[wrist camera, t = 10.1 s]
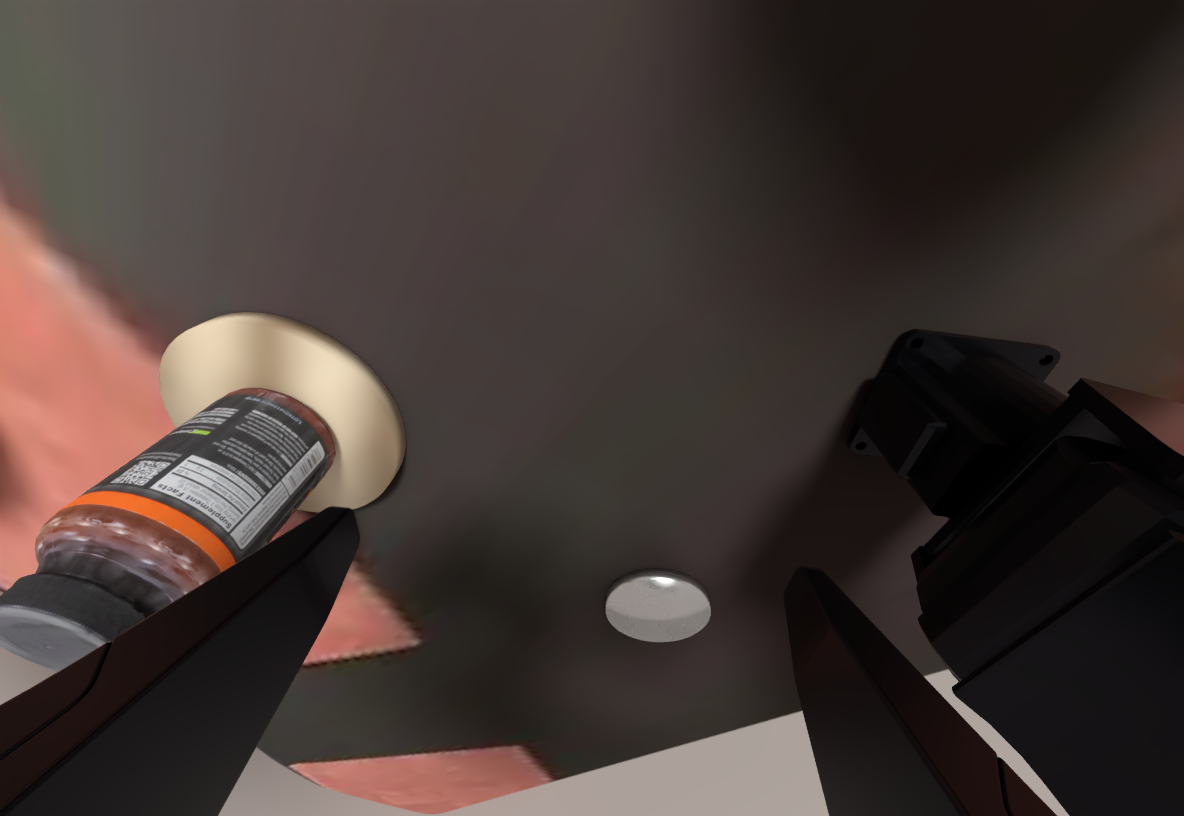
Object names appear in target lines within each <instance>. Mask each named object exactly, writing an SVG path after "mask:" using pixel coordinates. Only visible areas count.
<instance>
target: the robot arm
mask: <svg viewBox="0 0 1184 816" xmlns="http://www.w3.org/2000/svg"><path fill="white" fill-rule="evenodd" d="M917 338H919V339H918V341H917V342H916V343H915V344H914V345H910V344H911V342H912V341H913V340H915V339H917ZM1044 356H1045V358H1043V359H1042V360H1040V359H1041V358H1042V357H1044ZM1059 359H1060V353H1059V352H1058V351H1057V350H1055V349H1053V348H1051V347H1049V346H1046V345H1038V344H1030V343H1022V342H1014V341H1006V340H999V339H991V338H983V337H975V336H967V335H959V334H951V333H944V332H936V331H928V330H920V329H913V330H910V331H908V332H906V333H905V334H903V336H902V337H901V338H900V340H899V342H898V344H897V346H896V348H895V350H894V352H893V354H892V356H891V358H890V360H889V361H888V363H887V365H886V367H885V369H884V371H883V373H882V374H881V375H880V376H879V378H878V379H877V381H876V383H875V385H874V387H873V389H872V391H871V393H870V395H869V397H868V399H867V401H866V403H865V405H864V406H863V408H862V410H861V412H860V414H859V416H858V418H857V423H856V425H855V427H854V429H853V431H852V433H851V434H850V436H849V438H848V441H847V445H848V447H849V449H850V450H851V451H852V452H853V453H855V454H861V455H869V456H877V457H884V458H885V459H886V460H887V462H888V463H889V464H890V466H891V467H892V468H893V470H894V471H895V472H896V474H897V475H898V476H899V477H900V478H903V479H906V480H907V481H908V482H909V484H910V485H911V486H912V488H913V489H914V490H915V491H916V493H917V494H918V495H919V497H920V498H921V499H922V501H923V502H924V503H925V505H926V506H927V507H928V508H929V510H930V511H931V512H932V514H934V515H937V516H944V517H948V519H949V520H948V521H947V522H946V523H945V524H944V526H943V527H942V528H941V529H940V530H939V531H938V532H937V533H936V534H935V535H934V536H933V537H932V538H931V539H930V540H929V541H928V542H927V543H926V544H925V545H924V546H919V547H918V548H917V549H916V550H915V551H914V552H913V553H912V554H911V559H912V563H913V567H914V571H915V575H916V579H917V583H918V584H917V587H916V588H917V593H918V597H919V601H920V606H921V610H922V612H923V613H922V614H921V615H920V616H919V618H918V621H919V624H920V627H921V629H922V631H923V632H924V634H925V636H926V637H927V639H928V641H929V642H930V644H931V646H932V648H933V649H934V650H935V652H936V653H937V654H938V656H939V657H940V658H941V660H942V661H943V663H944V664H945V665H946V667H947V668H948V669H949V670H950V672H951V673H952V674H953V676H954V677H955V678H956V679H957V680H958V681H959V682H958V683H957V684H956V685H954V686H953V687H952V691H953V693H954V694H955V696H956V697H957V698H959V699H960V700H961V701H962V702H964V703H965V704H966V705H967V706H968V707H969V708H971V709H972V710H973V711H974V712H976V713H977V714H978V715H979V716H980V717H982V718H983V719H984V720H985V721H987V722H988V723H989V724H990V725H991V726H992V727H993V728H994V729H995V730H996V731H997V732H998V733H999V734H1000V735H1001V736H1002V737H1003V738H1004V739H1005V740H1006V741H1007V742H1008V743H1009V744H1010V745H1011V746H1012V747H1013V748H1014V749H1015V750H1016V751H1017V752H1018V753H1019V754H1020V755H1021V756H1022V757H1023V758H1024V760H1025V761H1026V762H1027V763H1028V764H1029V765H1030V767H1031V768H1032V769H1033V770H1034V772H1035V773H1036V774H1037V775H1038V776H1039V778H1040V779H1041V780H1042V781H1043V782H1044V784H1045V785H1046V786H1047V787H1048V789H1049V790H1050V791H1051V793H1052V794H1053V795H1054V796H1055V798H1056V799H1057V800H1058V801H1059V803H1060V804H1061V805H1062V807H1063V808H1064V809H1065V810H1066V812H1067V813H1068V814H1069V816H1184V404H1181V403H1177V402H1173V401H1170V400H1166V399H1162V398H1158V397H1154V396H1150V395H1146V394H1143V393H1139V392H1135V391H1131V390H1127V389H1123V388H1119V387H1116V386H1112V385H1108V384H1104V383H1100V382H1096V381H1092V380H1089V379H1085V378H1081V379H1080V380H1079V381H1078V382H1077V383H1076V384H1075V385H1074V386H1073V387H1072V388H1071V389H1070V390H1069V391H1068V394H1070V395H1069V397H1067V396H1065V395H1064V394H1062V393H1060V392H1059V391H1057V390H1056V389H1054V388H1052V387H1051V386H1049V385H1048V384H1046V383H1045V382H1043V381H1044V380H1045V379H1046V377H1047V376H1048V375H1049V373H1050V372H1051V371H1052V369H1053V368H1054V367H1055V365H1056V364H1057V363H1058V361H1059ZM859 442H862V443H861V444H859V445H857V444H858V443H859ZM359 542H360V533H359V530H358V526H357V522H356V518H355V514H354V511H353V510H352V509H351V508H347V507H340V506H330V507H327V508H325V509H324V510H322V511H320V512H319V513H317V514H316V515H314V516H312V517H311V518H309V519H307V520H306V521H304V522H303V523H301V524H299V525H298V526H296V527H294V528H293V529H291V530H289V531H288V532H286V533H285V534H283V535H281V536H280V537H278V538H276V539H275V540H273V541H272V542H270V543H268V544H267V545H265V546H263V547H262V548H260V549H258V550H257V551H255V552H254V553H252V554H250V555H249V556H247V557H245V558H244V559H242V560H241V561H239V562H237V563H236V564H234V565H232V566H231V567H229V568H227V569H226V570H224V571H223V572H221V573H219V574H218V575H216V576H214V577H213V578H211V579H210V580H208V581H206V582H205V583H203V584H201V585H200V586H198V587H196V588H195V589H193V590H192V591H190V592H188V593H187V594H185V595H183V596H182V597H180V598H179V599H177V600H175V601H174V602H172V603H170V604H169V605H167V606H166V607H164V608H162V609H161V610H159V611H157V612H156V613H154V614H152V615H151V616H149V617H148V618H146V619H144V620H143V621H141V622H139V623H138V624H136V625H135V626H133V627H131V628H130V629H128V630H126V631H125V632H123V633H121V634H120V635H118V636H117V637H115V638H114V640H113V642H112V641H109V642H107V643H105V644H103V645H102V646H100V647H98V648H97V649H95V650H93V651H92V652H90V653H89V654H87V655H85V656H84V657H82V658H80V659H79V660H77V661H75V662H74V663H72V664H70V665H69V666H67V667H65V668H64V669H62V670H60V671H59V672H57V673H55V674H54V675H52V676H50V677H48V678H47V679H45V680H43V681H42V682H40V683H38V684H37V685H35V686H33V687H32V688H30V689H28V690H27V691H25V692H23V693H21V694H19V695H18V696H16V697H14V698H12V699H10V700H9V701H7V702H5V703H3V704H2V705H0V816H218V815H219V813H220V811H221V809H222V807H223V806H224V804H225V802H226V800H227V798H228V797H229V795H230V793H231V791H232V790H233V788H234V786H235V784H236V782H237V780H238V779H239V777H240V775H241V773H242V771H243V770H244V768H245V766H246V764H247V763H248V761H249V759H250V757H251V755H252V753H253V752H254V750H255V748H256V746H257V745H258V743H259V741H260V739H261V737H262V736H263V734H264V732H265V730H266V728H267V727H268V725H269V723H270V721H271V719H272V718H273V716H274V714H275V712H276V710H277V709H278V707H279V705H280V703H281V701H282V700H283V698H284V696H285V694H286V692H287V691H288V689H289V687H290V685H291V683H292V682H293V680H294V678H295V676H296V674H297V673H298V671H299V669H300V667H301V665H302V664H303V662H304V660H305V658H306V656H307V655H308V653H309V651H310V649H311V647H312V646H313V644H314V642H315V640H316V639H317V637H318V635H319V633H320V631H321V629H322V627H323V626H324V624H325V622H326V620H327V618H328V616H329V613H330V611H331V609H332V607H333V605H334V602H335V600H336V598H337V595H338V593H339V591H340V588H341V586H342V584H343V581H344V579H345V577H346V574H347V572H348V570H349V567H350V565H351V563H352V560H353V558H354V556H355V553H356V551H357V549H358V546H359ZM783 603H784V610H785V617H786V624H787V631H788V637H789V644H790V651H791V658H792V665H793V671H794V676H795V682H796V686H797V690H798V695H799V699H800V703H801V707H802V710H803V714H804V718H805V722H806V726H807V730H808V734H809V738H810V742H811V746H812V750H813V754H814V758H815V762H816V765H817V769H818V773H819V777H820V781H821V785H822V789H823V793H824V797H825V800H826V805H827V809H828V813H829V816H1057V815H1056V814H1055V813H1054V812H1053V811H1052V810H1051V809H1050V808H1049V807H1048V806H1047V805H1046V804H1045V803H1044V802H1043V801H1042V800H1041V799H1040V798H1039V797H1038V796H1037V795H1036V794H1035V793H1034V792H1033V791H1032V790H1031V789H1030V788H1029V787H1028V785H1027V784H1025V782H1023V780H1022V779H1021V778H1020V777H1019V776H1018V775H1017V774H1016V773H1015V772H1014V771H1013V770H1012V769H1011V768H1010V767H1009V766H1008V765H1007V764H1006V763H1005V761H1004V760H1002V759H1001V758H999V757H997V754H996V752H995V751H994V750H993V749H992V748H991V747H990V746H989V745H988V744H987V743H986V742H985V741H984V740H983V739H982V738H981V737H980V736H979V734H978V733H977V732H976V731H975V730H974V729H973V728H972V727H971V726H970V725H969V724H968V723H967V722H966V721H965V720H964V719H963V718H962V716H960V714H959V713H958V712H957V711H956V710H955V709H954V708H953V707H952V706H951V705H950V704H949V703H948V702H947V701H946V700H945V699H944V698H943V697H942V695H941V694H940V693H939V692H938V691H937V690H936V689H935V688H934V687H933V686H932V685H931V684H930V683H929V682H928V681H927V680H926V679H925V678H924V677H923V676H922V674H921V673H920V672H919V671H918V670H917V669H916V668H915V667H914V666H913V665H912V664H911V663H910V662H909V661H908V660H907V659H906V658H905V657H904V656H903V655H902V653H901V652H900V651H899V650H898V649H897V648H896V647H895V646H894V645H893V644H892V643H891V642H890V641H889V640H888V639H887V638H886V637H885V636H884V635H883V634H882V632H881V631H880V630H879V629H878V628H877V627H876V626H875V625H874V624H873V623H872V622H871V621H870V620H869V619H868V618H867V617H866V616H865V615H864V614H863V613H862V611H861V610H860V609H859V608H858V607H857V606H856V605H855V604H854V603H853V602H852V601H851V600H850V599H849V598H848V597H847V596H846V595H845V594H844V593H843V591H842V590H841V589H840V588H839V587H838V586H837V585H836V584H835V583H834V582H833V581H832V580H831V579H830V578H829V577H828V576H827V575H826V574H825V573H824V572H823V571H822V570H821V569H818V568H813V567H806V566H800V567H798V568H797V569H796V570H795V572H794V574H793V575H792V577H791V579H790V581H789V583H788V585H787V586H786V588H785V591H784V595H783Z"/></svg>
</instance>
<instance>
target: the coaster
mask: <svg viewBox="0 0 1184 816" xmlns="http://www.w3.org/2000/svg"><path fill="white" fill-rule="evenodd" d="M159 387H160V393H161V397H162V400H163V404H164V406H165V408H166V411H167V413H168V416H169V417H170V419H171V421H172V423H173V424H174V426H175V428H178V427H180V426H181V425H182V424H184V423H185V422H186V421H188V420H190V419H191V418H192V417H194V416H195V415H196V414H198V413H199V412H201V411H202V410H204V409H205V408H207V407H208V406H210V405H211V404H212V403H214V402H215V401H217V400H218V399H221V398H222V397H224V396H225V395H227V394H228V393H230V392H233V391H236V390H239V389H243V388H265V389H271V390H274V391H278V392H281V393H284V394H286V395H290V396H292V397H293V398H294V399H297V400H298V401H300V402H301V403H303V404H304V405H306V406H308V407H309V408H310V409H311V410H312V411H314V413H315V414H317V415H318V416H319V417H320V418H321V419H322V421H323V422H324V423H325V424H326V425H327V428H328V429H329V431H330V433H331V435H332V438H333V441H334V444H335V451H336V455H335V458H334V461H333V464H332V466H331V467H330V469H329V470H328V472H327V473H326V474H325V476H324V477H323V479H322V480H321V481H320V482H319V483H318V485H317V486H316V487H315V488H314V490H313V491H312V492H311V493H310V494H309V495H308V496H307V497H306V499H305V500H304V501H303V502H302V504H301V505H300V506H299V507H298V509H297V510H303V511H309V512H320V511H322V510H324V509H325V508H327V507H330V506H340V507H347V508H351V509H356V508H359V507H361V506H364V505H366V504H368V503H370V502H371V501H373V500H375V499H376V498H377V497H378V496H380V495H381V494H382V493H383V492H384V490H385V489H386V488H387V487H388V485H389V484H390V482H391V481H392V479H393V478H394V476H395V475H396V473H397V472H398V470H399V468H400V466H401V464H402V462H403V459H404V455H405V449H406V434H405V428H404V424H403V419H402V417H401V414H400V411H399V409H398V406H397V405H396V403H395V401H394V399H393V397H392V395H391V394H390V392H389V391H388V389H387V388H386V386H385V385H384V383H383V382H382V381H381V380H380V378H379V377H378V376H377V375H376V374H375V373H374V371H373V370H372V369H371V368H370V367H369V366H368V365H367V364H366V363H365V362H364V361H363V360H362V359H361V358H359V357H358V356H357V355H356V354H354V353H353V352H352V351H351V350H349V349H348V348H347V347H346V346H344V345H343V344H341V343H340V342H338V341H336V340H335V339H333V338H332V337H330V336H328V335H327V334H325V333H323V332H321V331H319V330H317V329H315V328H313V327H311V326H308V325H306V324H304V323H301V322H299V321H296V320H292V319H289V318H286V317H282V316H278V315H273V314H268V313H259V312H237V313H230V314H225V315H221V316H218V317H215V318H213V319H211V320H208V321H206V322H204V323H202V324H200V325H197V326H195V327H193V328H191V329H189V330H187V331H185V332H184V333H182V334H181V335H179V336H178V337H176V339H175V340H174V341H173V342H172V343H171V344H170V345H169V346H168V348H167V350H166V351H165V353H164V355H163V357H162V360H161V364H160V368H159Z"/></svg>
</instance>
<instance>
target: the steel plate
mask: <svg viewBox="0 0 1184 816" xmlns="http://www.w3.org/2000/svg"><path fill="white" fill-rule="evenodd" d="M605 610H606V616H607V618H608V620H609V622H610V623H611V624H612V625H613V626H614V627H615V628H616V629H617V630H618V631H620V632H622V633H623V634H625V635H627V636H630V637H632V638H635V639H639V640H643V641H650V642H670V641H676V640H681V639H684V638H687V637H690V636H692V635H694V634H696V633H697V632H699V631H700V630H701V629H702V628H704V627H705V625H706V624H707V623H708V621H709V619H710V615H711V609H710V603H709V597H708V594H707V591H706V590H705V588H704V587H703V586H702V585H701V584H700V583H699V582H698V581H697V580H695V579H694V578H692V577H690V576H688V575H686V574H683V573H681V572H677V571H673V570H667V569H645V570H639V571H635V572H632V573H629V574H627V575H625V576H623V577H621V578H619V579H618V580H616V581H615V582H614V583H613V584H612V585H611V587H610V588H609V590H608V592H607V595H606V609H605Z"/></svg>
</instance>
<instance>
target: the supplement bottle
mask: <svg viewBox="0 0 1184 816" xmlns="http://www.w3.org/2000/svg"><path fill="white" fill-rule="evenodd" d="M335 455H336V451H335V444H334V441H333V438H332V435H331V433H330V431H329V429H328V428H327V425H326V424H325V423H324V422H323V421H322V419H321V418H320V417H319V416H318V415H317V414H315V413H314V411H312V410H311V409H310V408H309V407H308V406H306V405H304V404H303V403H301V402H300V401H298V400H297V399H294V398H293V397H292V396H290V395H286V394H284V393H281V392H278V391H274V390H271V389H265V388H243V389H239V390H236V391H233V392H230V393H228V394H227V395H225V396H224V397H222V398H221V399H218V400H217V401H215V402H214V403H212V404H211V405H210V406H208V407H207V408H205V409H204V410H202V411H201V412H199V413H198V414H196V415H195V416H194V417H192V418H191V419H190V420H188V421H186V422H185V423H184V424H182V425H181V426H180V427H178V428H176V429H175V430H173V431H172V432H171V433H170V434H168V435H167V436H165V437H164V438H162V439H161V440H159V441H158V442H157V443H155V444H154V445H152V446H151V447H150V448H148V449H147V450H145V451H144V452H142V453H141V454H140V455H138V456H137V457H135V458H134V459H132V460H131V461H129V462H128V463H127V464H126V465H124V466H122V467H121V468H120V469H118V470H117V471H115V472H114V473H112V474H111V475H109V476H108V477H107V478H105V479H104V480H103V481H101V482H100V483H98V484H97V485H95V486H94V487H92V488H91V489H89V490H87V491H86V492H85V493H84V494H83V495H81V496H80V497H78V498H77V499H76V500H74V501H73V502H71V503H70V504H68V505H67V506H66V507H64V508H63V509H61V510H60V511H59V512H58V513H57V514H56V515H54V516H53V517H52V518H51V519H50V520H49V521H48V522H47V523H46V524H44V526H43V527H42V528H41V530H40V532H39V534H38V535H37V538H36V543H35V553H36V558H37V562H38V564H39V566H38V569H37V571H36V573H35V574H32V575H28V576H25V577H22V578H20V579H18V580H17V581H16V582H15V583H14V585H13V586H12V587H11V588H10V589H8V590H7V591H6V592H4V593H3V594H2V595H1V596H0V646H1V647H2V648H4V649H6V650H7V651H9V652H11V653H13V654H16V655H18V656H20V657H22V658H24V659H26V660H28V661H31V662H33V663H36V664H38V665H41V666H44V667H46V668H49V669H52V670H55V671H58V672H59V671H60V670H62V669H64V668H65V667H67V666H69V665H70V664H72V663H74V662H75V661H77V660H79V659H80V658H82V657H84V656H85V655H87V654H89V653H90V652H92V651H93V650H95V649H97V648H98V647H100V646H102V645H103V644H105V643H107V642H109V641H112V642H113V640H114V638H115V637H117V636H118V635H120V634H121V633H123V632H125V631H126V630H128V629H130V628H131V627H133V626H135V625H136V624H138V623H139V622H141V621H143V620H144V619H146V618H148V617H149V616H151V615H152V614H154V613H156V612H157V611H159V610H161V609H162V608H164V607H166V606H167V605H169V604H170V603H172V602H174V601H175V600H177V599H179V598H180V597H182V596H183V595H185V594H187V593H188V592H190V591H192V590H193V589H195V588H196V587H198V586H200V585H201V584H203V583H205V582H206V581H208V580H210V579H211V578H213V577H214V576H216V575H218V574H219V573H221V572H223V571H224V570H226V569H227V568H229V567H231V566H232V565H234V564H236V563H237V562H239V561H241V560H242V559H244V558H245V557H247V556H249V555H250V554H252V553H254V552H255V551H257V550H258V549H260V548H262V547H263V546H265V545H267V544H268V543H269V542H270V541H271V539H272V538H273V537H274V536H275V534H276V533H277V532H278V531H279V530H280V529H281V527H282V526H283V525H284V524H285V523H286V521H287V520H288V519H289V518H290V517H291V515H292V514H293V513H294V512H295V511H296V510H297V509H298V507H299V506H300V505H301V504H302V502H303V501H304V500H305V499H306V497H307V496H308V495H309V494H310V493H311V492H312V491H313V490H314V488H315V487H316V486H317V485H318V483H319V482H320V481H321V480H322V479H323V477H324V476H325V474H326V473H327V472H328V470H329V469H330V467H331V466H332V464H333V461H334V458H335Z"/></svg>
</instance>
